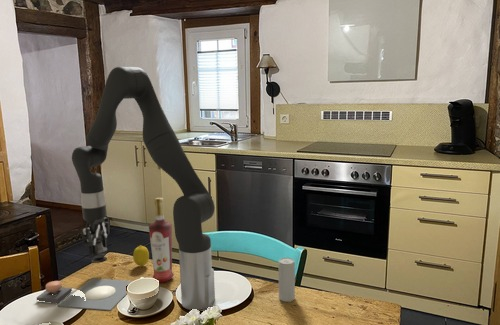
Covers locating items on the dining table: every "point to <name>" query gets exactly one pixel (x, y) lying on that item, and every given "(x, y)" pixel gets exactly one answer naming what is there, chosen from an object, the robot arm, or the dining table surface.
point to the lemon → (141, 255)
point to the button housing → (54, 298)
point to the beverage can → (286, 279)
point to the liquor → (161, 244)
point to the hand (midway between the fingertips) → (98, 251)
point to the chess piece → (99, 250)
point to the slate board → (98, 295)
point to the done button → (53, 286)
